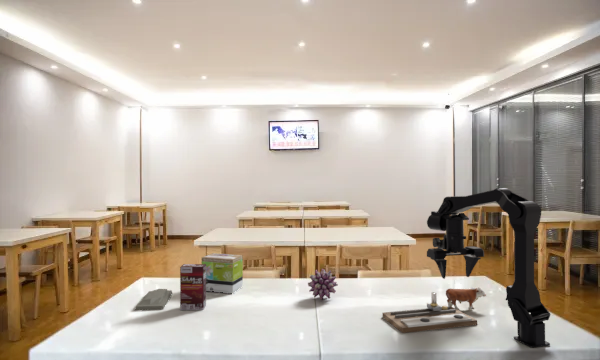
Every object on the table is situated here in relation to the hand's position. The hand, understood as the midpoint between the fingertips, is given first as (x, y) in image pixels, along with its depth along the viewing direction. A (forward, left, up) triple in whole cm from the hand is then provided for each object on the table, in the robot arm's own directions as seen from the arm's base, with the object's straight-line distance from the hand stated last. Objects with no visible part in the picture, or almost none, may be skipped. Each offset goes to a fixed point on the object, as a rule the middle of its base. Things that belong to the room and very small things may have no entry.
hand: (455, 277), depth 132 cm
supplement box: (+29, +89, -13) cm, 95 cm away
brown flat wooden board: (-4, +13, -12) cm, 18 cm away
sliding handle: (-1, +9, -10) cm, 13 cm away
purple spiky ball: (+27, +40, -13) cm, 50 cm away
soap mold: (+41, +104, -13) cm, 113 cm away
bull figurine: (+3, -6, -13) cm, 14 cm away
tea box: (+51, +78, -13) cm, 94 cm away
